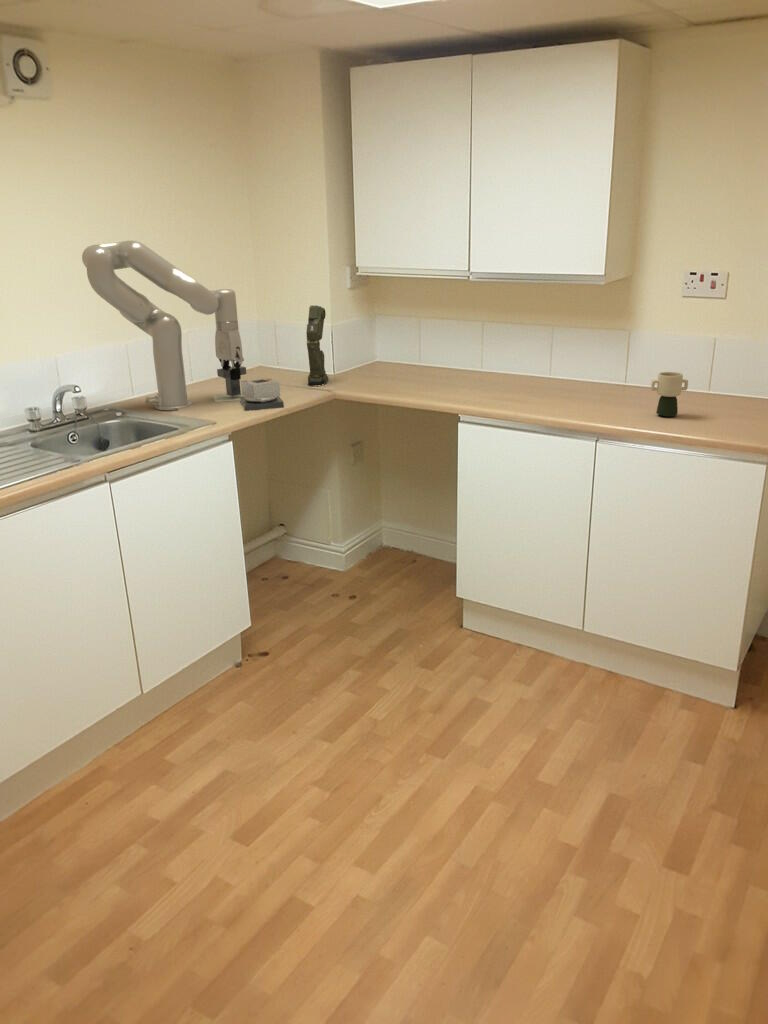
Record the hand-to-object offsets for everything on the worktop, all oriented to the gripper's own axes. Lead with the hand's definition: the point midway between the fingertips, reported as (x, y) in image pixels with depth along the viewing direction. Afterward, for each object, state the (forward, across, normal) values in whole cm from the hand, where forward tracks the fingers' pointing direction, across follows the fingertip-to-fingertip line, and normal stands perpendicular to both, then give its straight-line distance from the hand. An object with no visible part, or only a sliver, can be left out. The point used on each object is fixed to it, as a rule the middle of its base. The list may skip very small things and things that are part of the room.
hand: (232, 378), depth 292 cm
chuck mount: (+8, +16, 0) cm, 17 cm away
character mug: (+8, +130, +68) cm, 147 cm away
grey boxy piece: (+5, +16, 0) cm, 17 cm away
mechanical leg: (+8, +3, +38) cm, 38 cm away
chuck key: (+6, 0, 0) cm, 6 cm away
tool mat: (+8, 0, -1) cm, 8 cm away
